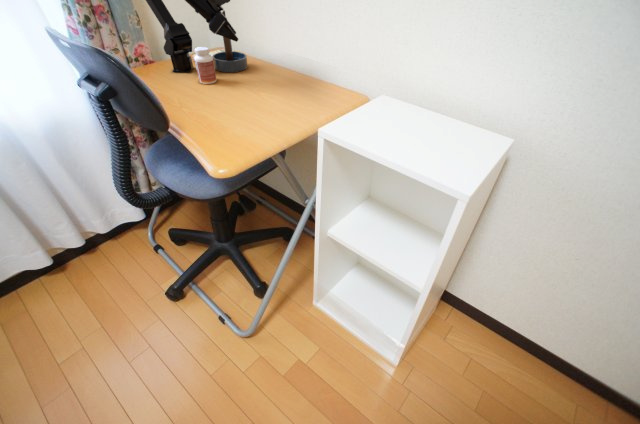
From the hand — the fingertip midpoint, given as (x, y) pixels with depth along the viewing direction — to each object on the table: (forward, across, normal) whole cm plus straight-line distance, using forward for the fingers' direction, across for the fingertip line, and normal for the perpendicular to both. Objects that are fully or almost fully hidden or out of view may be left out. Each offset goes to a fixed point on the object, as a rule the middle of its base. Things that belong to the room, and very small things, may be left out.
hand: (236, 37), depth 110 cm
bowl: (+7, +11, +12) cm, 18 cm away
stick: (+7, +11, +11) cm, 17 cm away
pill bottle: (+1, -4, +18) cm, 19 cm away
